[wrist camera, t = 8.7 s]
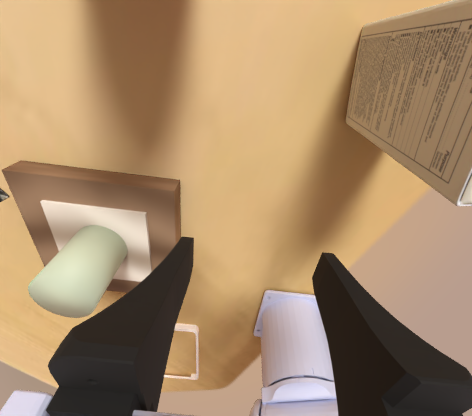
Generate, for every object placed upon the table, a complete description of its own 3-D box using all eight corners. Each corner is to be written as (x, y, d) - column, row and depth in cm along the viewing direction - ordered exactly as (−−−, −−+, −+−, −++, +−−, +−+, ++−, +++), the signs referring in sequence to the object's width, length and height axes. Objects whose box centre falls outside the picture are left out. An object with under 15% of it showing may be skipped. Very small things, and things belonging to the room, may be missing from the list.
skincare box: (402, 120, 18) (592, 210, 8) (341, 123, 19) (451, 213, 8) (434, 14, 15) (827, -59, 5) (359, 19, 15) (578, -38, 5)
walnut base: (181, 283, 30) (176, 300, 28) (63, 270, 29) (50, 286, 27) (180, 180, 22) (173, 192, 20) (20, 160, 22) (-2, 171, 20)
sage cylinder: (129, 266, 25) (98, 321, 20) (80, 258, 25) (37, 312, 20) (125, 230, 22) (89, 282, 17) (71, 221, 22) (19, 272, 17)
